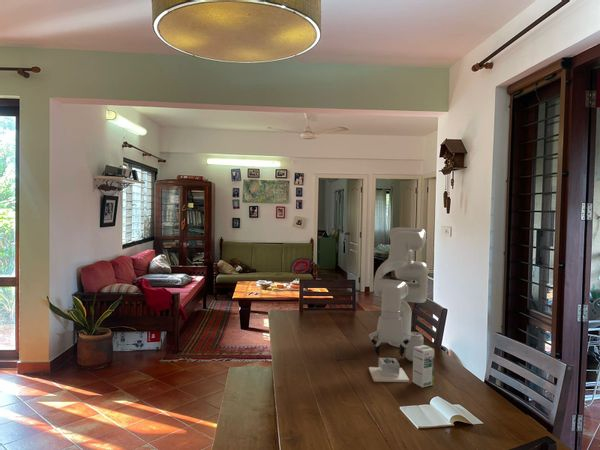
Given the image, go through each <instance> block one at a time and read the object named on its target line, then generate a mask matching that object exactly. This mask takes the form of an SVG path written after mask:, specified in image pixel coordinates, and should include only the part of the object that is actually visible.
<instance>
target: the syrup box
mask: <svg viewBox="0 0 600 450" xmlns="http://www.w3.org/2000/svg"><path fill="white" fill-rule="evenodd" d="M434 375H435V348H433V347H431V346H429V345H425V344H423V346H417V347H414V349H413V361H412V383H414V384H416V385H417V386H419V387H421V388H426V387H430V386H433V385H434V381H435V379H434V377H435V376H434Z"/></svg>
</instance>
